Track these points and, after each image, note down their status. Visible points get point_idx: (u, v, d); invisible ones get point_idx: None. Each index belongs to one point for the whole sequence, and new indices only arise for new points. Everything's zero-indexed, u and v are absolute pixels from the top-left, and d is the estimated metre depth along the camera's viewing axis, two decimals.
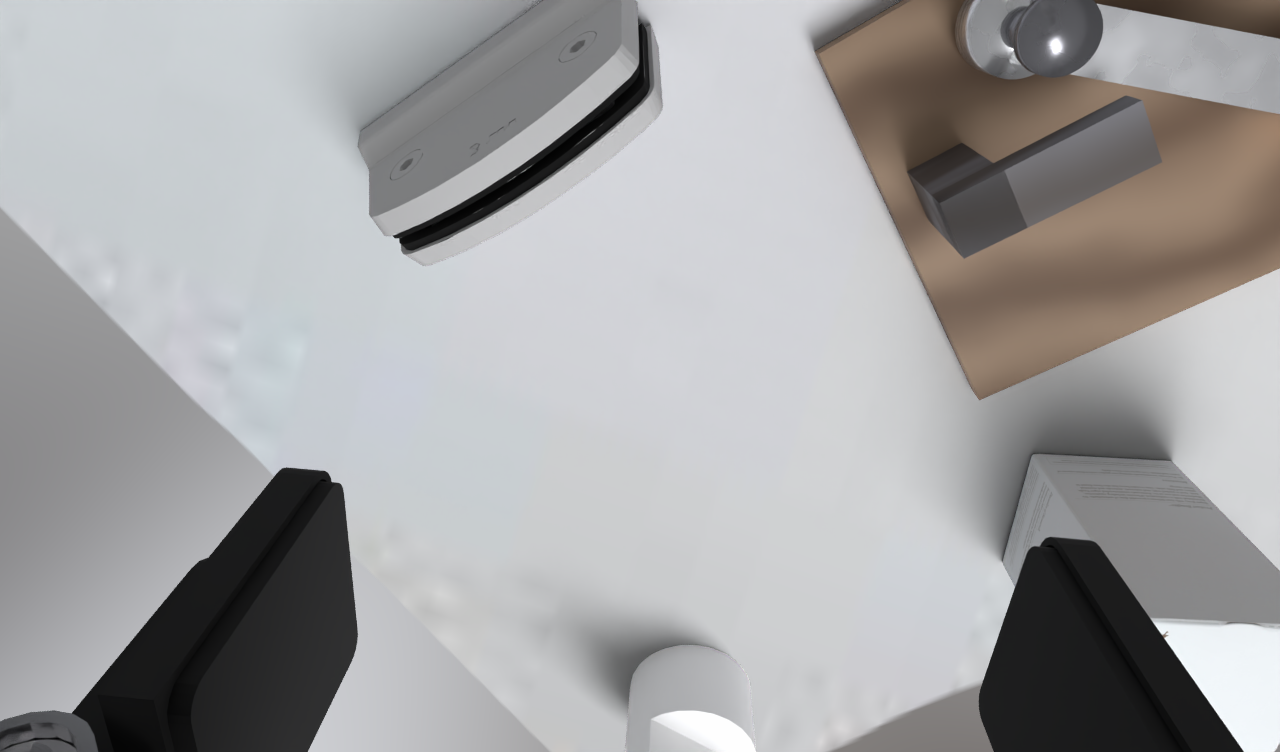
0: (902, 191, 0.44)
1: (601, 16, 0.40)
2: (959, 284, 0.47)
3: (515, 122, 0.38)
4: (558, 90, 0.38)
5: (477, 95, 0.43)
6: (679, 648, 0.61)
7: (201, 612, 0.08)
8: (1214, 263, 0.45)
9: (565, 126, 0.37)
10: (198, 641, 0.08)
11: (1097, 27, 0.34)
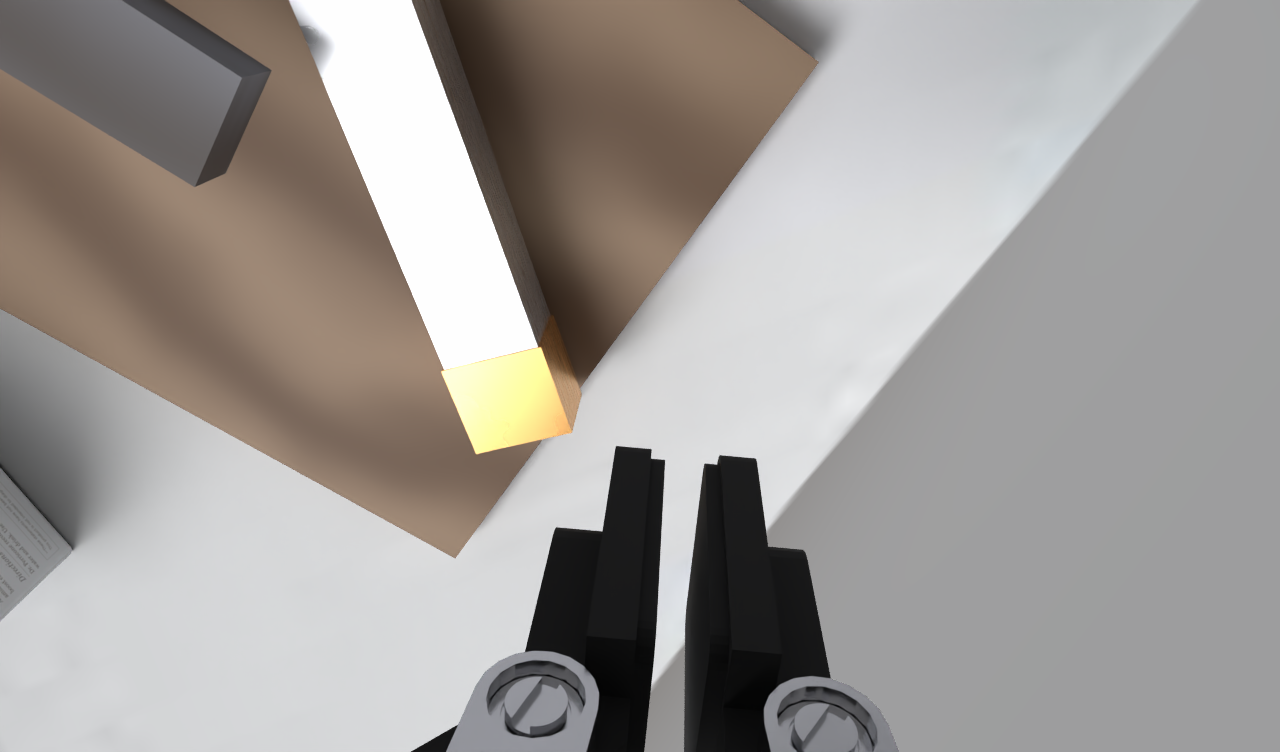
0: None
1: None
2: None
3: None
4: None
5: None
6: None
7: (626, 569, 0.09)
8: (280, 414, 0.30)
9: None
10: (640, 593, 0.09)
11: None
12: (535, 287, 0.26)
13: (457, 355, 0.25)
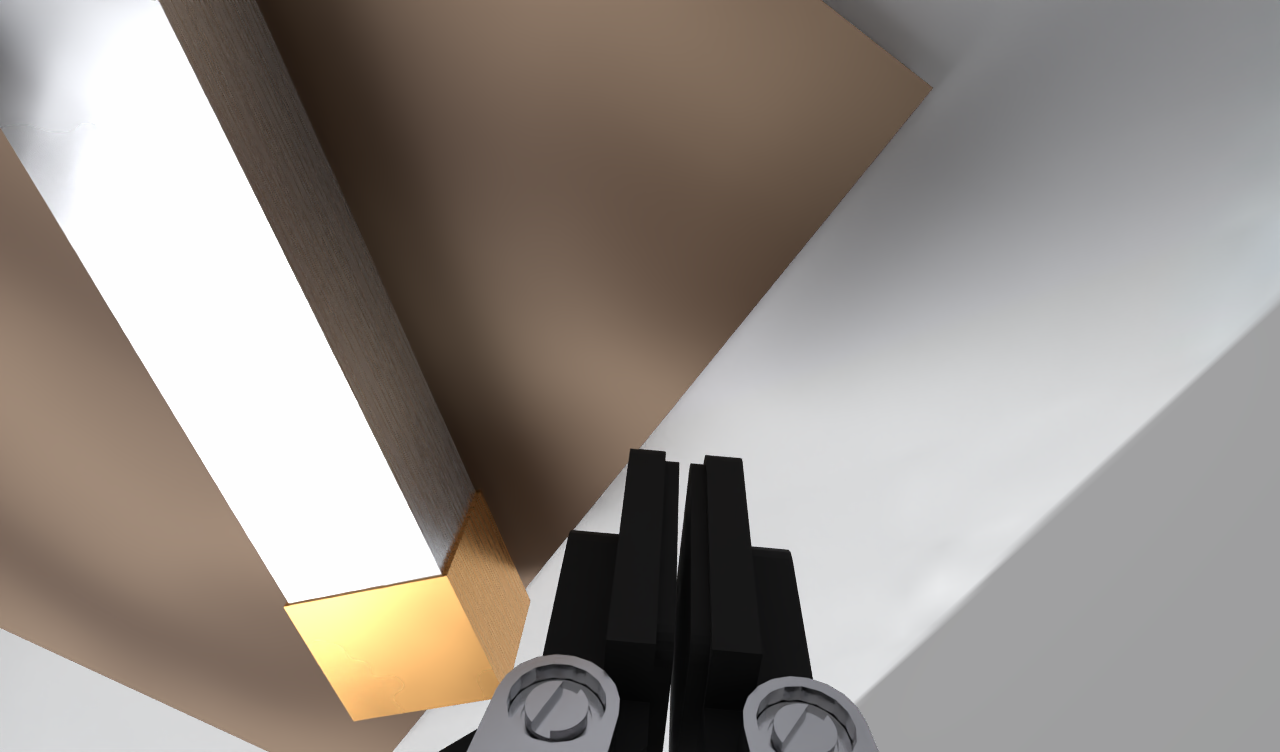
0: None
1: None
2: None
3: None
4: None
5: None
6: None
7: (644, 572, 0.09)
8: (81, 608, 0.20)
9: None
10: (658, 596, 0.09)
11: None
12: (445, 458, 0.16)
13: (308, 584, 0.15)
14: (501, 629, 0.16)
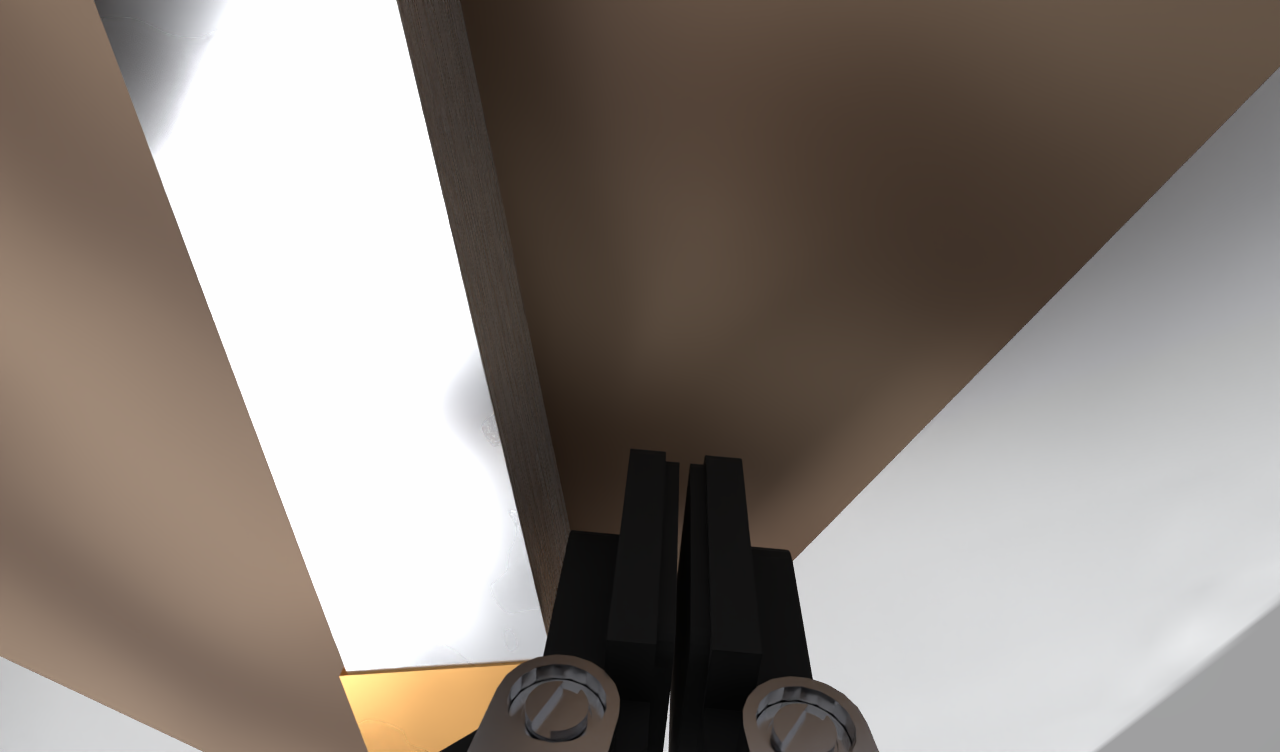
0: None
1: None
2: None
3: None
4: None
5: None
6: None
7: (644, 572, 0.09)
8: (164, 662, 0.17)
9: None
10: (658, 596, 0.09)
11: None
12: (556, 509, 0.13)
13: (377, 652, 0.12)
14: None
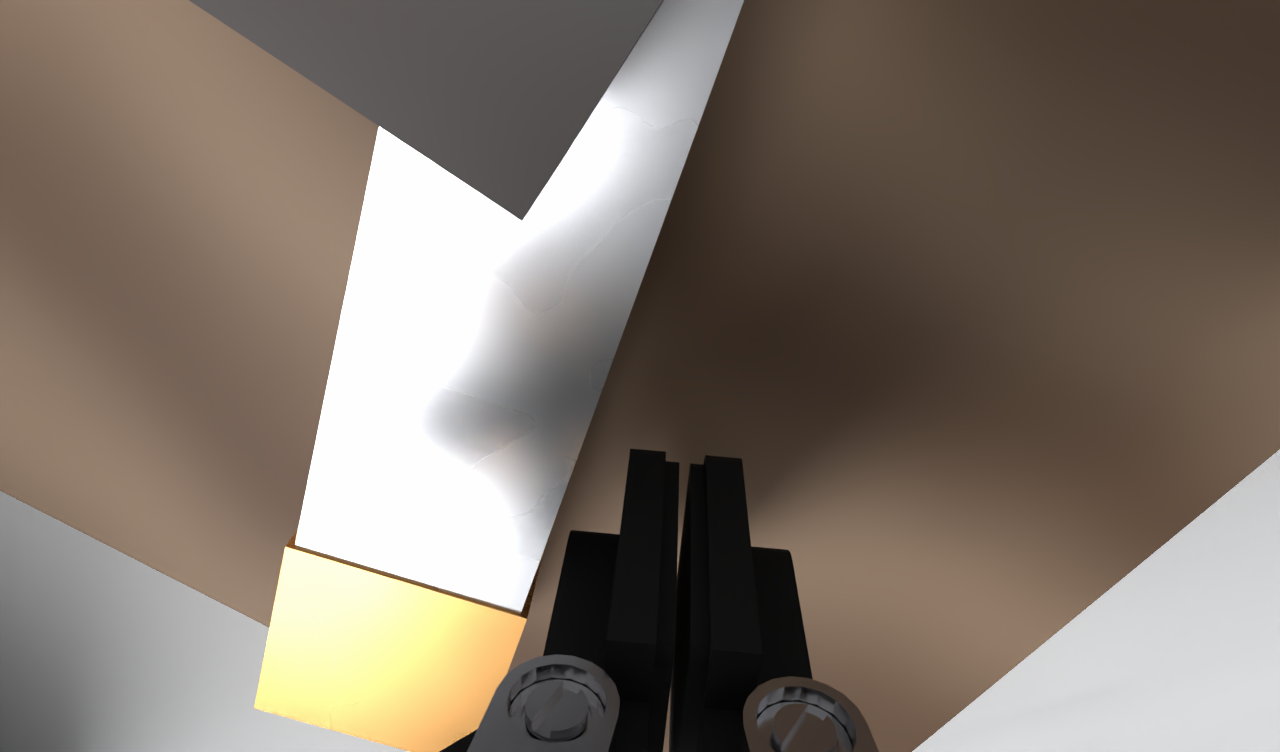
0: None
1: None
2: None
3: None
4: None
5: None
6: None
7: (644, 572, 0.09)
8: None
9: None
10: (658, 596, 0.09)
11: None
12: None
13: (342, 539, 0.11)
14: None
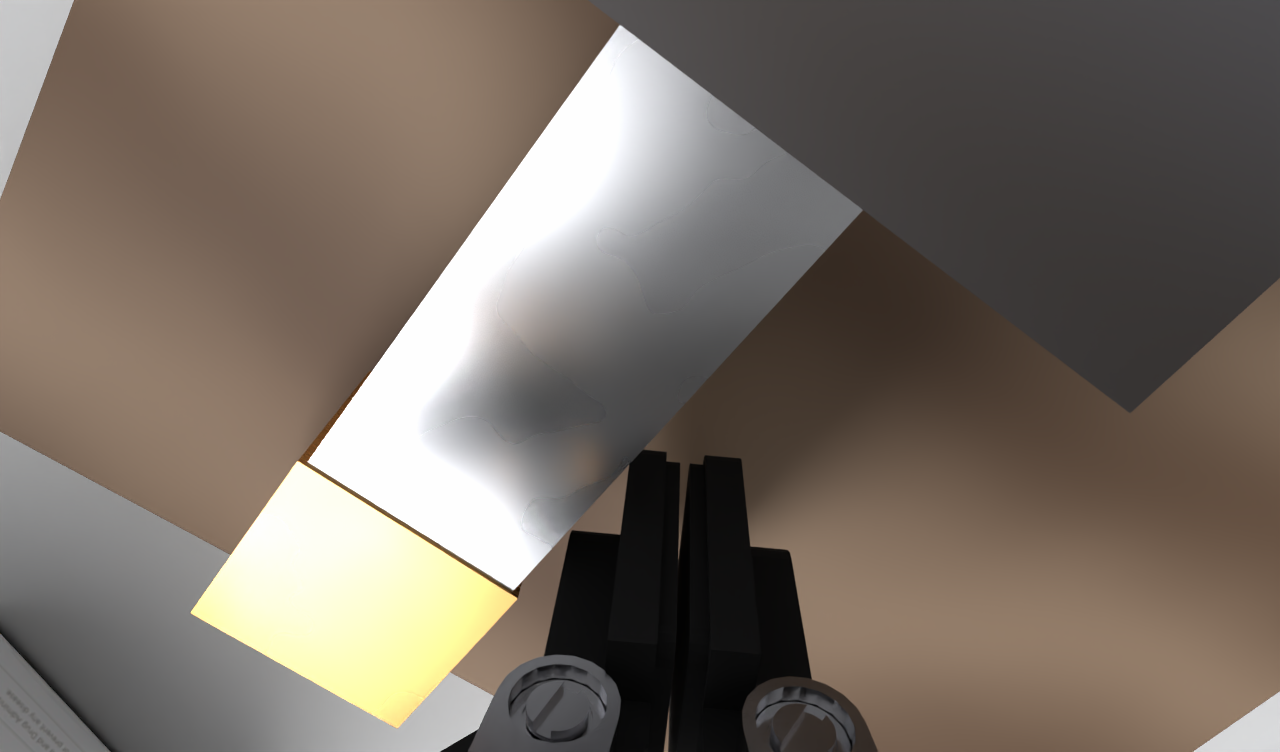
0: None
1: None
2: (193, 63, 0.11)
3: None
4: None
5: None
6: None
7: (645, 572, 0.09)
8: None
9: None
10: (659, 596, 0.09)
11: None
12: None
13: (361, 470, 0.10)
14: None
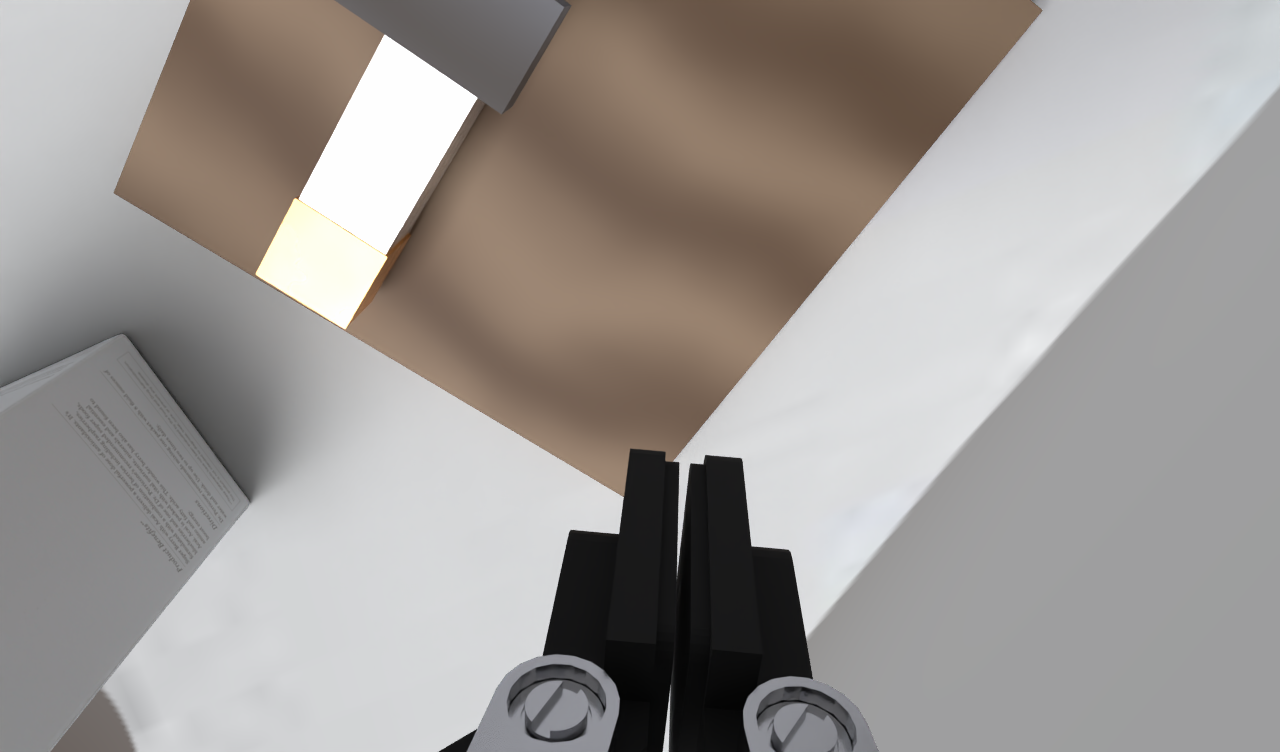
0: None
1: None
2: (236, 33, 0.27)
3: None
4: None
5: None
6: None
7: (644, 572, 0.09)
8: (482, 360, 0.31)
9: None
10: (658, 596, 0.09)
11: None
12: (420, 209, 0.28)
13: (320, 200, 0.26)
14: (365, 300, 0.28)
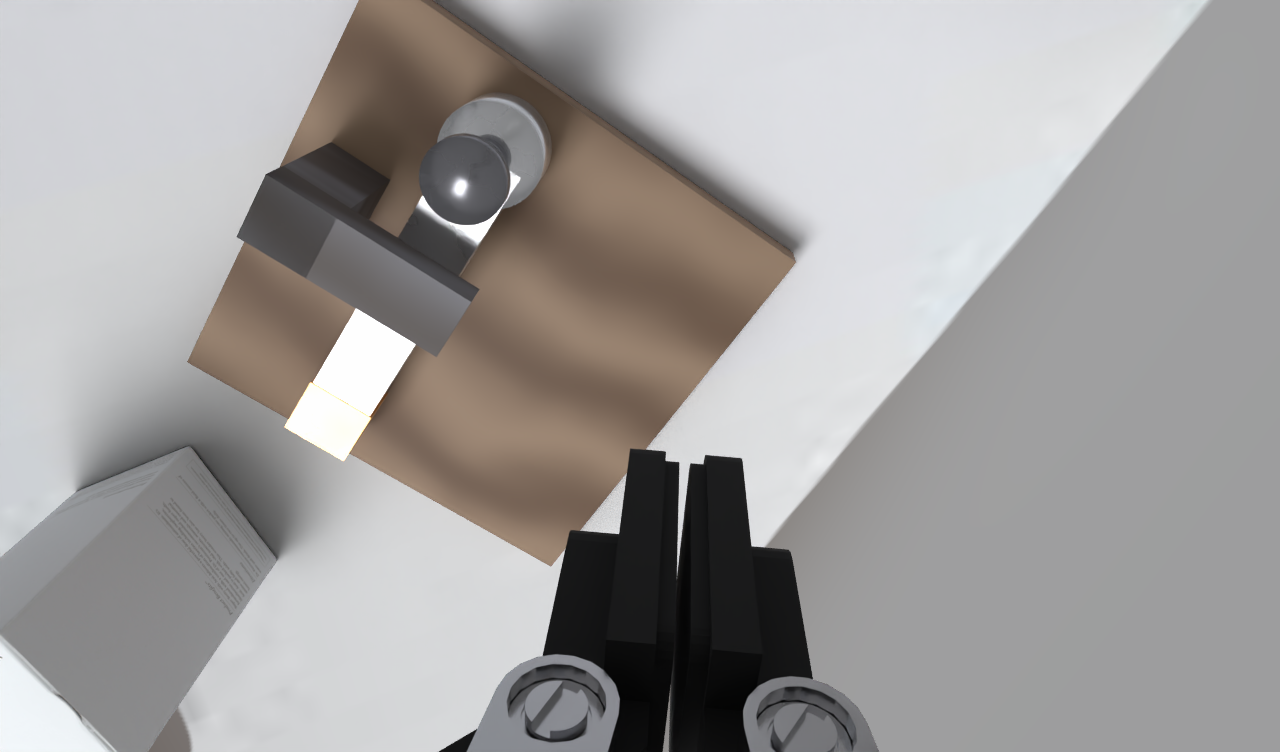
0: (311, 149, 0.38)
1: None
2: (271, 267, 0.41)
3: None
4: None
5: None
6: None
7: (644, 572, 0.09)
8: (439, 470, 0.45)
9: None
10: (658, 595, 0.09)
11: (458, 218, 0.31)
12: (393, 380, 0.42)
13: (326, 384, 0.40)
14: (357, 439, 0.42)
